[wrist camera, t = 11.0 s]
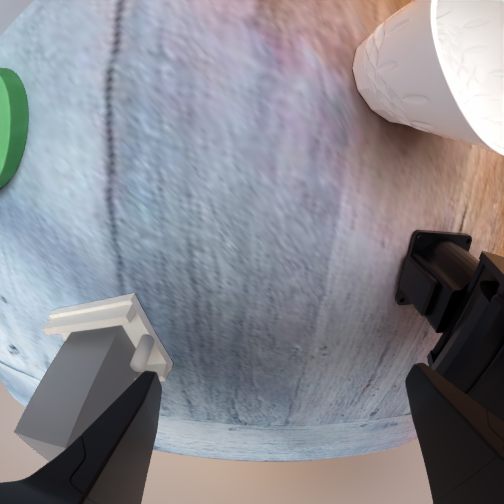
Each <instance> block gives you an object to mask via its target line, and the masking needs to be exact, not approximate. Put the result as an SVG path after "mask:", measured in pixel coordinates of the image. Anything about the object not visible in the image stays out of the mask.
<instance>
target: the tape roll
mask: <svg viewBox="0 0 504 504" xmlns="http://www.w3.org/2000/svg"><path fill="white" fill-rule="evenodd" d="M28 119H29V114H28V101H27V95H26V91H25V88H24V85H23V83H22V81H21V79H20V78H19V76H18V75H17V74H16V73H15V72H14V71H12V70H10V69H7V68H0V188H1V187H3V186H4V185H5V184H7V183H8V182H9V180H10V179H11V178H12V177H13V175H14V174H15V172H16V170H17V168H18V166H19V164H20V161H21V158H22V155H23V152H24V148H25V144H26V139H27V132H28Z"/></svg>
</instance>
